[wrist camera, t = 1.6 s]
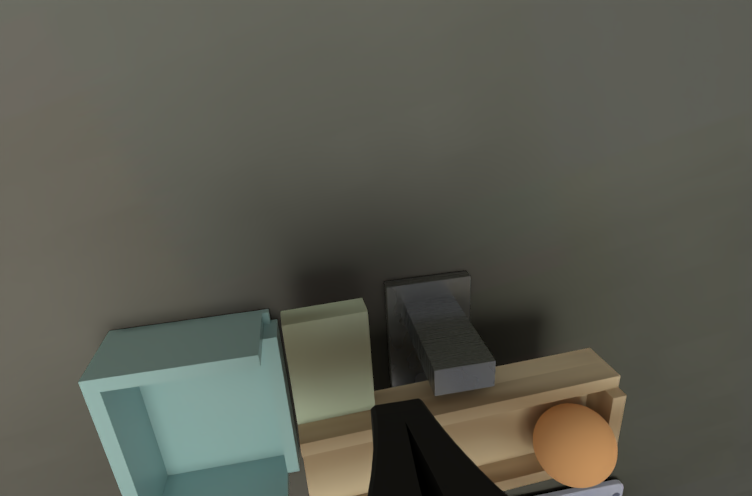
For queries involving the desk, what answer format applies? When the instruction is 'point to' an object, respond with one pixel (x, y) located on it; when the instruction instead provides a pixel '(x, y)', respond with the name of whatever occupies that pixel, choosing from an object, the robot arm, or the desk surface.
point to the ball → (575, 445)
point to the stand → (435, 335)
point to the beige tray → (425, 402)
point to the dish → (195, 407)
